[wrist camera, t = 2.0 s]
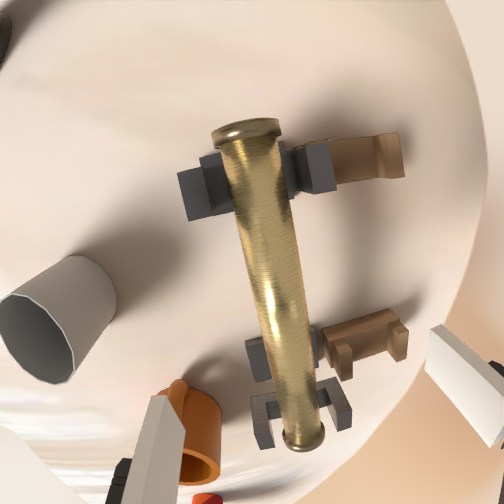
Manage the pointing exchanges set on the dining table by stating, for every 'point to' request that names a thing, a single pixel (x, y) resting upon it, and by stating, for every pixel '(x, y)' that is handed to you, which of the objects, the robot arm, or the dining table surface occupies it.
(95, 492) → the dining table surface
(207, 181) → the post
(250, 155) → the rail
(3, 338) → the cup
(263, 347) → the post
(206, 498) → the paper cup
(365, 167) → the rest
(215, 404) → the mug
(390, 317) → the rest
